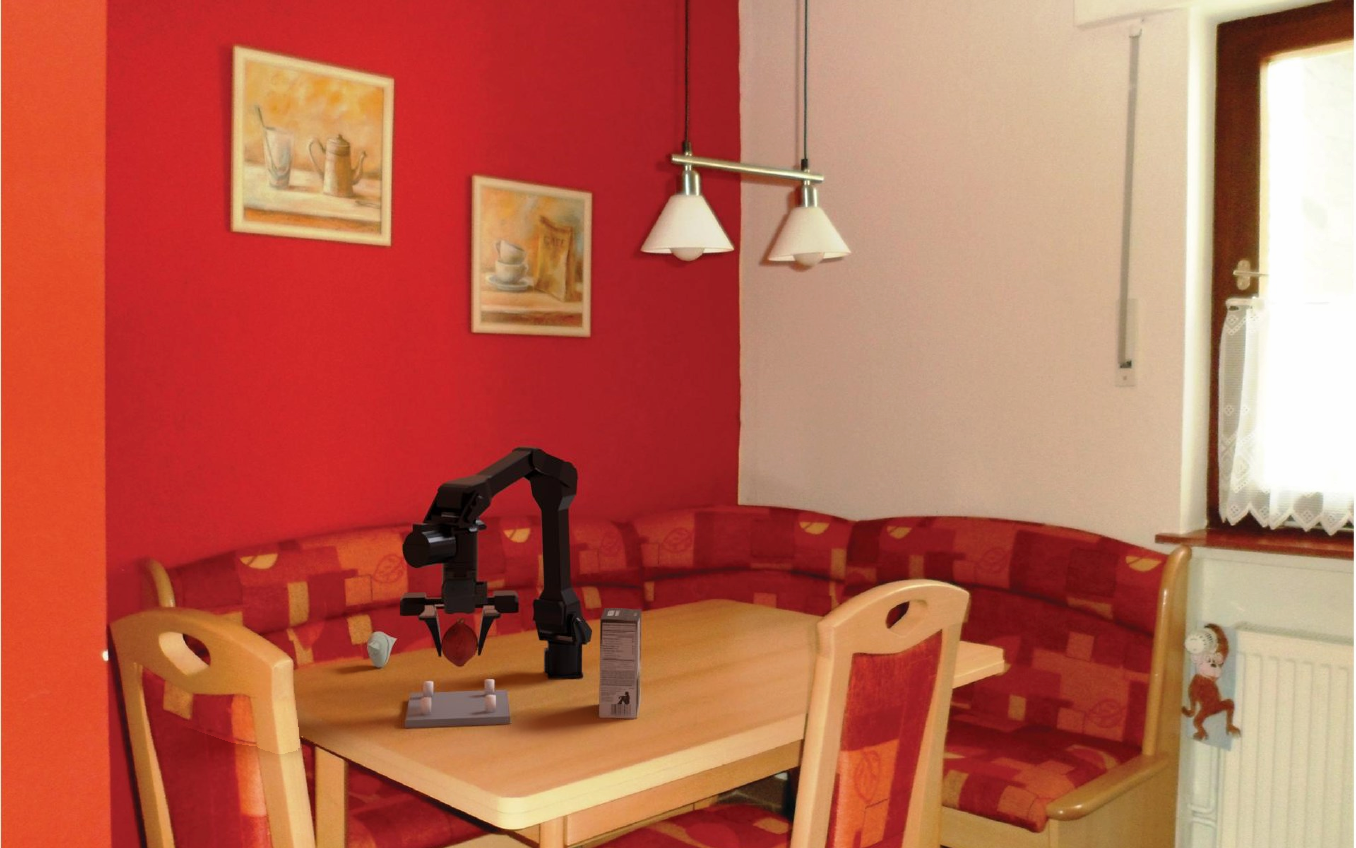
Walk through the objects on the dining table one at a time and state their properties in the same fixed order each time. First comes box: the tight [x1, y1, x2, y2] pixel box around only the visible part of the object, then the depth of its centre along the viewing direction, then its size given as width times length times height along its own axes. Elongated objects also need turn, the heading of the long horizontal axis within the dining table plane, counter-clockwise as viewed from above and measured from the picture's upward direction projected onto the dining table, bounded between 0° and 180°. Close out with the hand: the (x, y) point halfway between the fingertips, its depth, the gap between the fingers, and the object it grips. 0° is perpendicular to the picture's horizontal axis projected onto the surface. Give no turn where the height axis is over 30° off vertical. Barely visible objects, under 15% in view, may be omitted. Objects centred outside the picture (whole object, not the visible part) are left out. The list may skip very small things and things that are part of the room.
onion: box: [441, 617, 479, 668], centre depth 182 cm, size 6×6×8 cm
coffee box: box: [598, 607, 642, 720], centre depth 184 cm, size 9×6×16 cm
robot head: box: [366, 631, 397, 668], centre depth 211 cm, size 8×4×7 cm, turn 163°
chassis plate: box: [404, 678, 511, 729], centre depth 182 cm, size 16×16×4 cm
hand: (459, 655), depth 182 cm, fingers closed on onion, 6 cm apart
